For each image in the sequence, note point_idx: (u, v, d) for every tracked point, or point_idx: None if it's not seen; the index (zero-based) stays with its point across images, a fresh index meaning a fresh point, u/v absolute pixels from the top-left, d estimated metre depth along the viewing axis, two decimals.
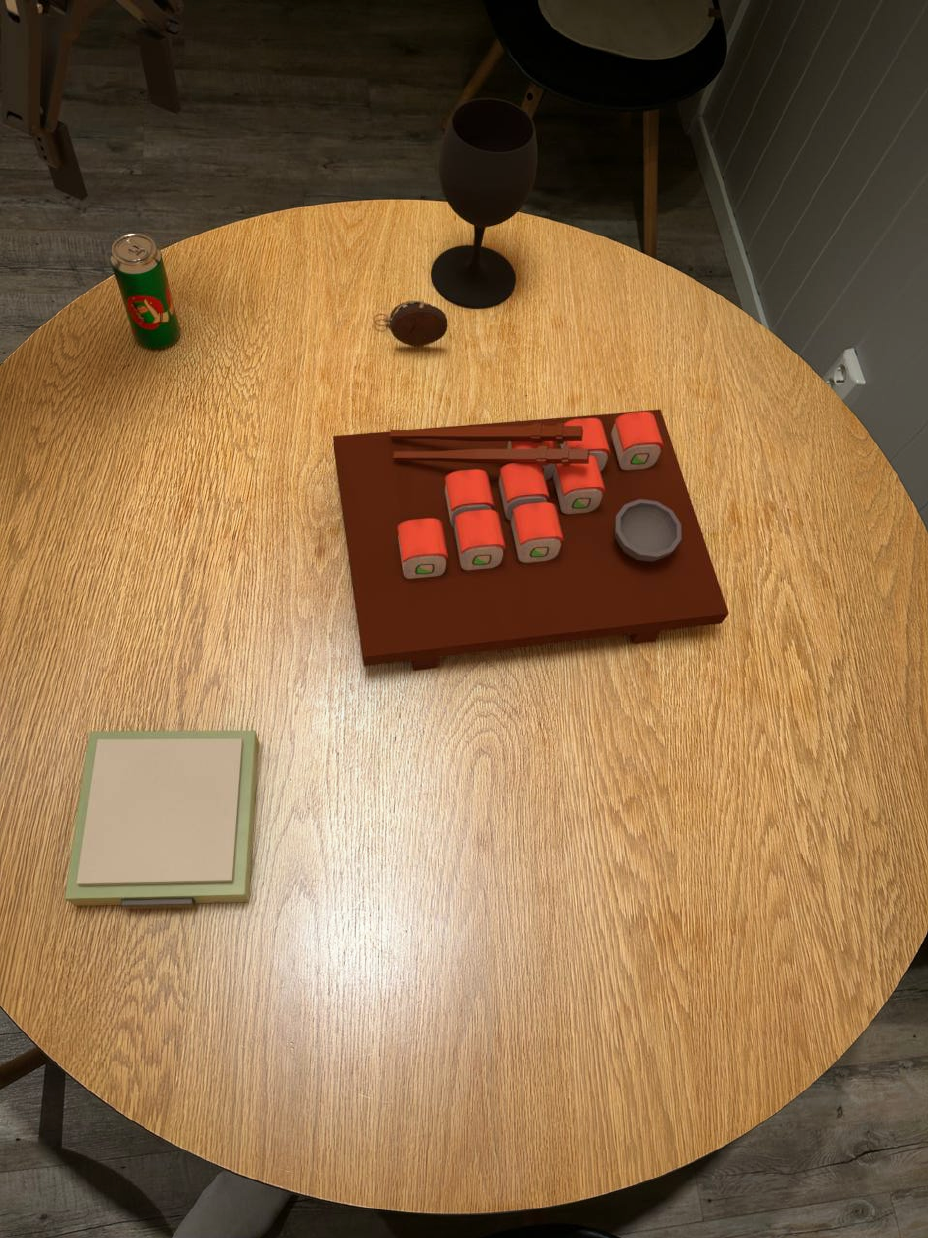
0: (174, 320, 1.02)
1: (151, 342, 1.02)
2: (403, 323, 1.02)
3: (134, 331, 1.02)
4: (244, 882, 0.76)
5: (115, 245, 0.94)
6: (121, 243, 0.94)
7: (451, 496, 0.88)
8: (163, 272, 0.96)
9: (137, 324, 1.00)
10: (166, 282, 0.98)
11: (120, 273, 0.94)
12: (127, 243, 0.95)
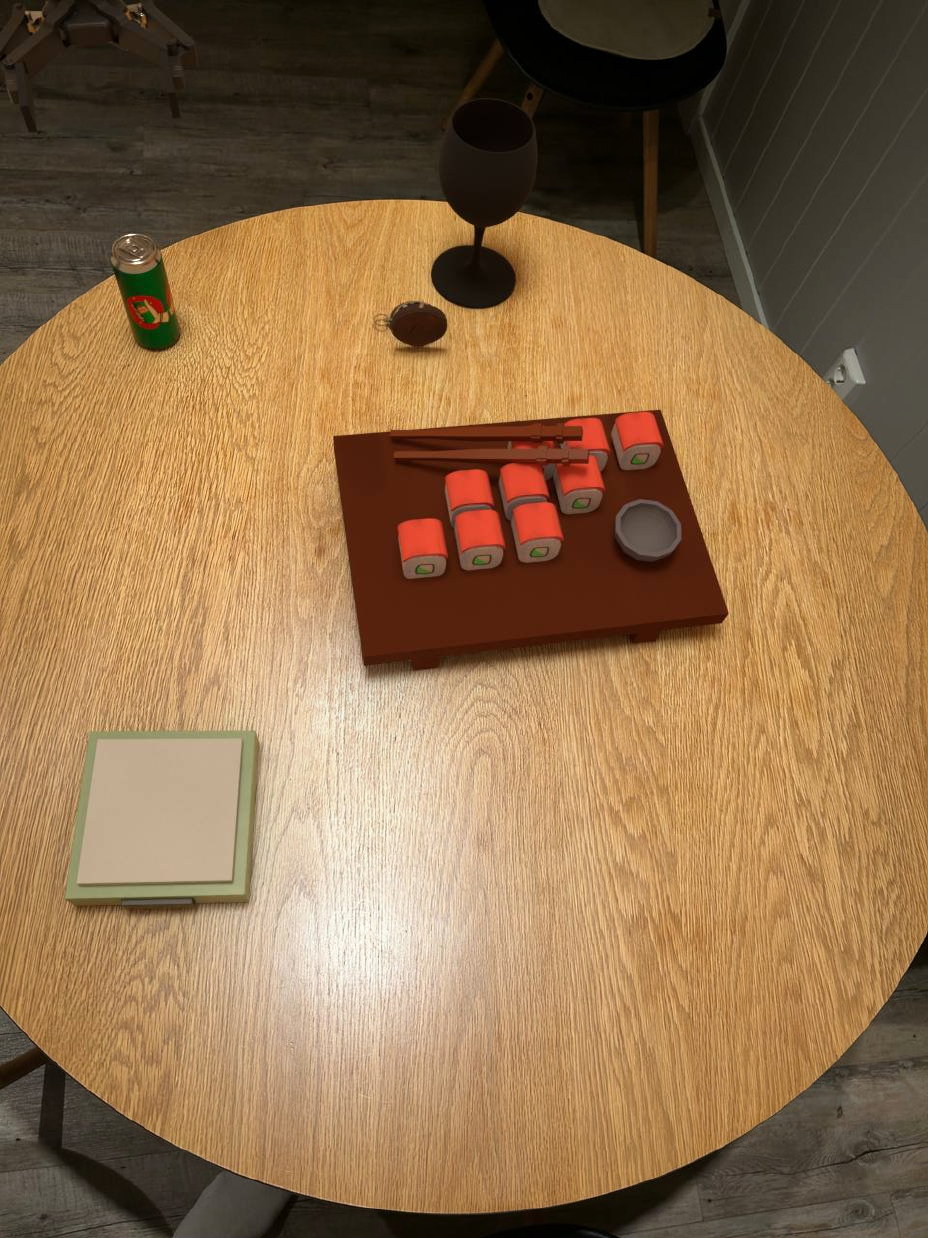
0: (174, 320, 1.02)
1: (151, 342, 1.02)
2: (403, 323, 1.02)
3: (134, 331, 1.02)
4: (244, 882, 0.76)
5: (115, 245, 0.94)
6: (121, 243, 0.94)
7: (451, 496, 0.88)
8: (163, 272, 0.96)
9: (137, 324, 1.00)
10: (166, 282, 0.98)
11: (120, 273, 0.94)
12: (127, 243, 0.95)
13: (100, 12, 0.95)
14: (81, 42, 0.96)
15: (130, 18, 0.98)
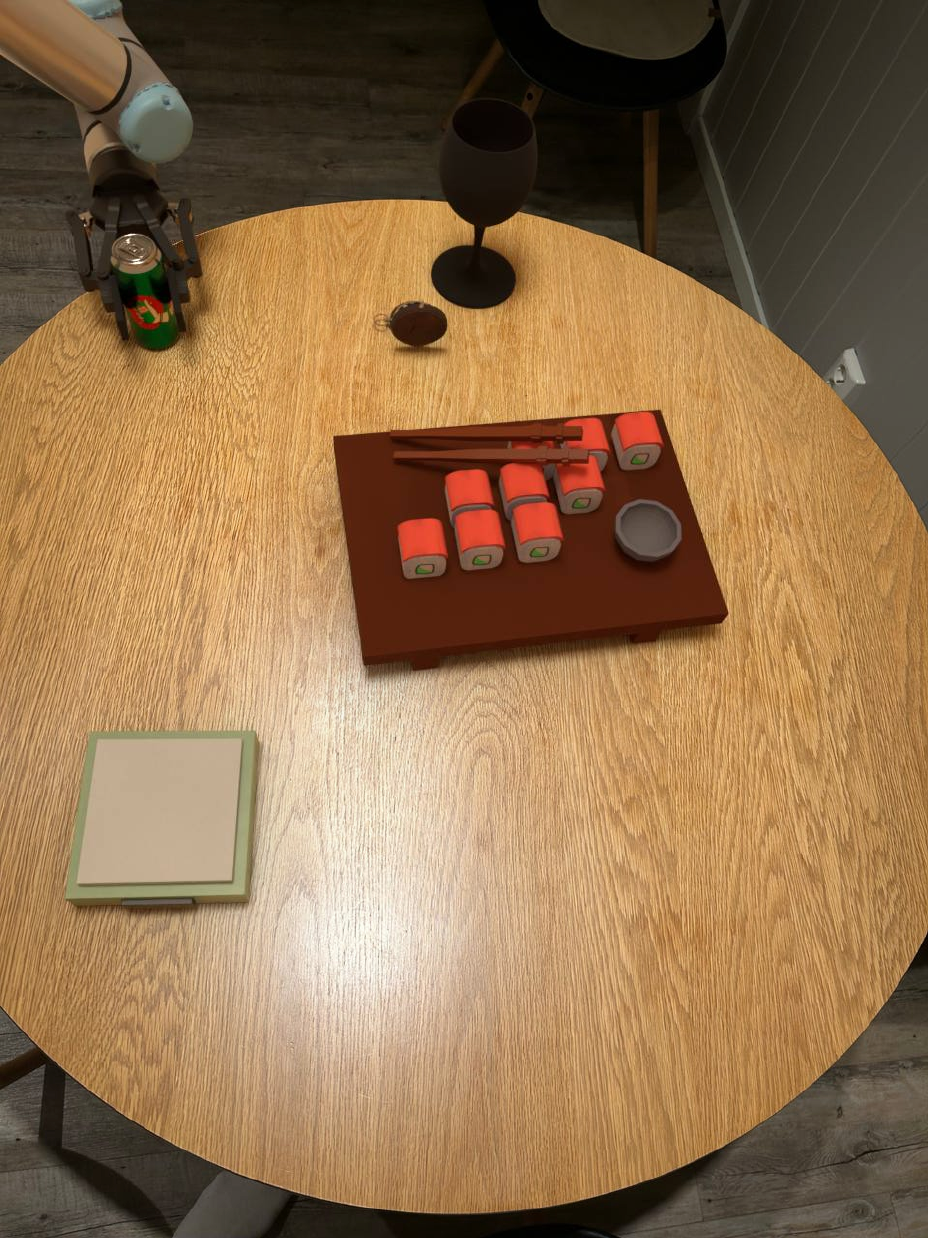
0: (174, 320, 1.02)
1: (151, 342, 1.02)
2: (403, 323, 1.02)
3: (134, 331, 1.02)
4: (244, 882, 0.76)
5: (115, 245, 0.94)
6: (121, 243, 0.94)
7: (451, 496, 0.88)
8: (163, 272, 0.96)
9: (137, 324, 1.00)
10: (166, 282, 0.98)
11: (120, 273, 0.94)
12: (127, 243, 0.95)
13: None
14: None
15: (168, 214, 1.05)
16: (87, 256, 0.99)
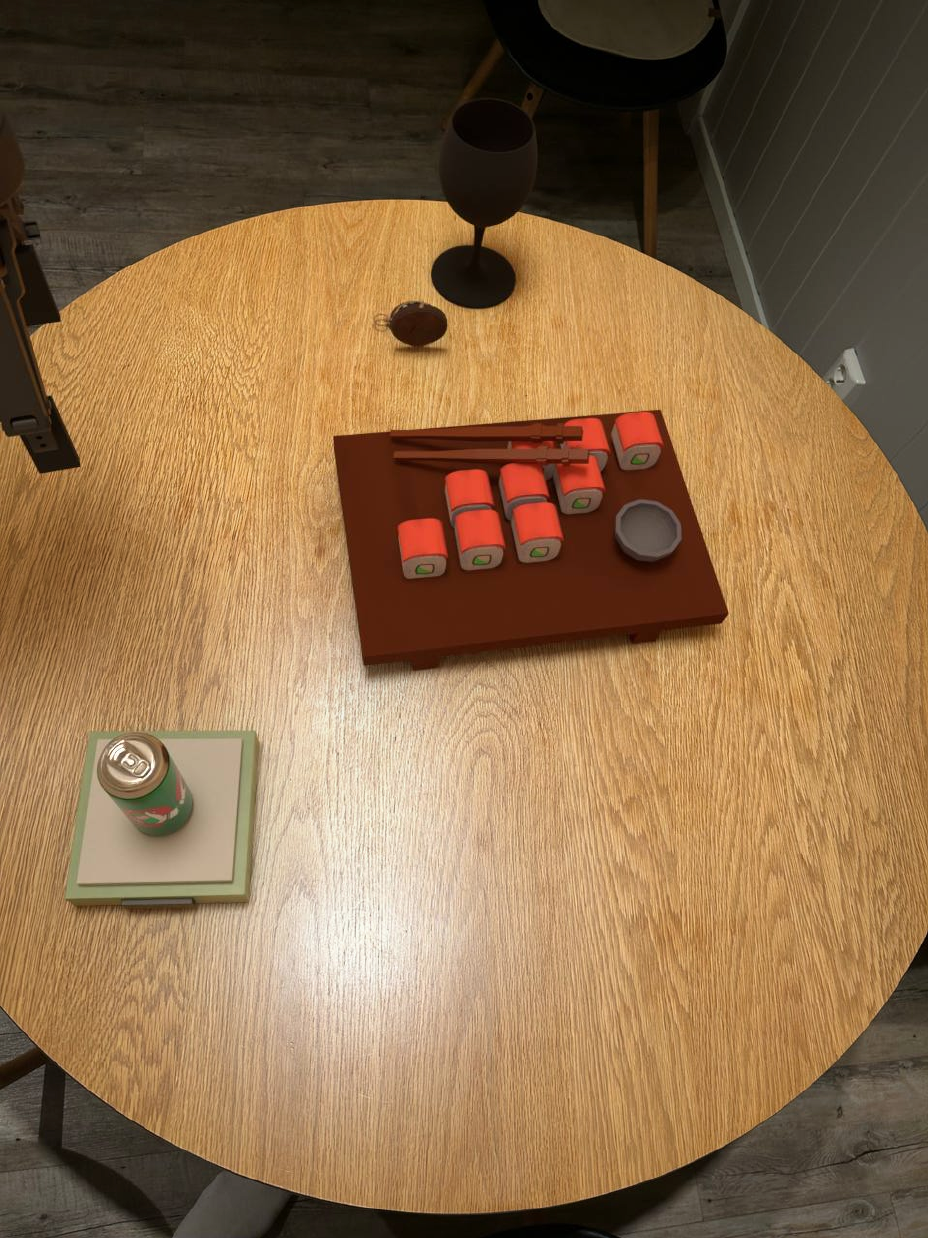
0: (185, 806, 0.74)
1: (154, 834, 0.75)
2: (403, 323, 1.02)
3: (131, 822, 0.74)
4: (244, 882, 0.76)
5: (104, 755, 0.67)
6: (112, 751, 0.67)
7: (451, 496, 0.88)
8: (171, 778, 0.69)
9: (135, 823, 0.72)
10: (175, 782, 0.70)
11: (111, 796, 0.66)
12: (120, 749, 0.67)
13: None
14: None
15: None
16: None
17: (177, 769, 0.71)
